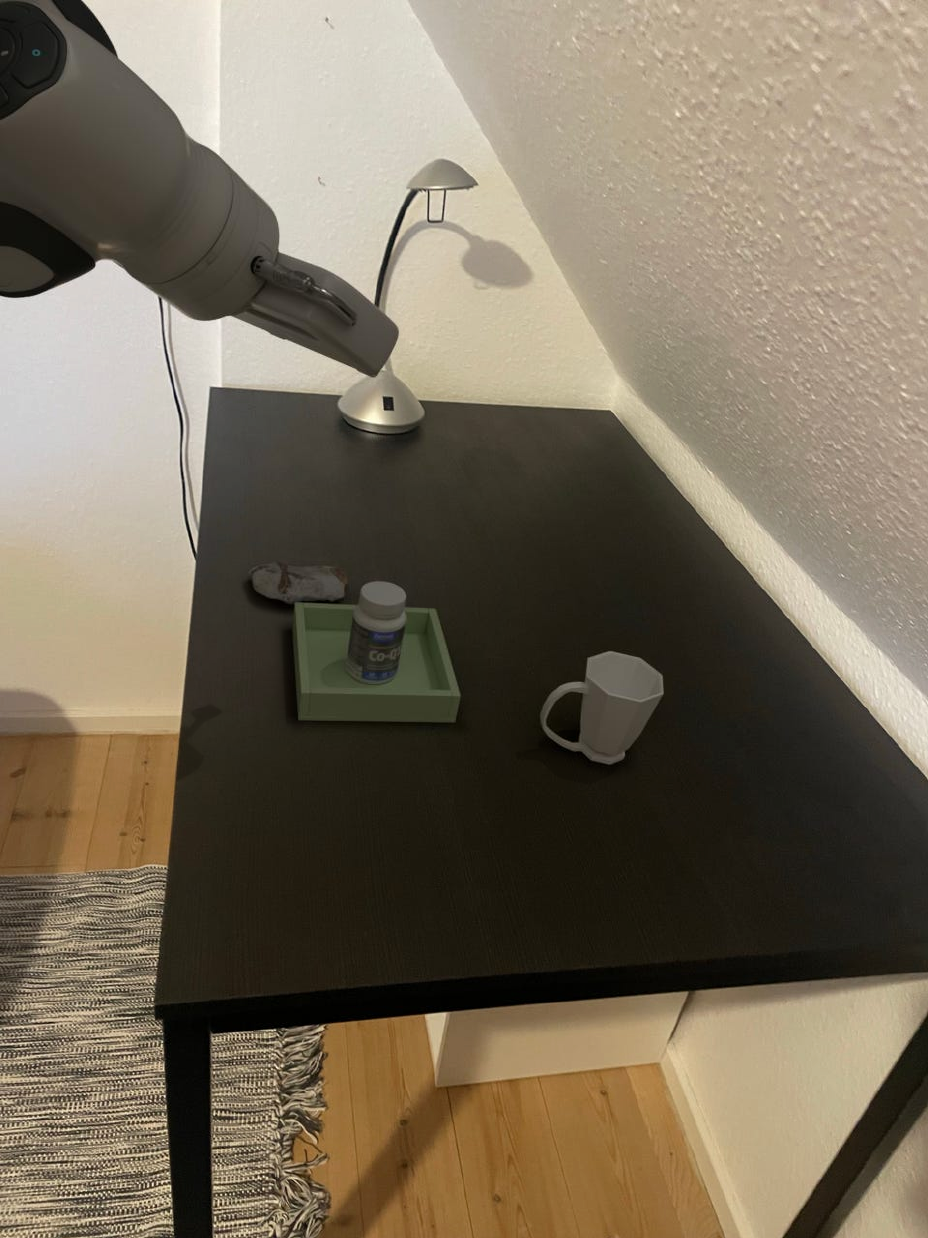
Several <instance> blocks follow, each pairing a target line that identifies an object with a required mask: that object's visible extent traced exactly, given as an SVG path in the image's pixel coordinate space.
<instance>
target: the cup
mask: <svg viewBox="0 0 928 1238" xmlns="http://www.w3.org/2000/svg"><path fill="white" fill-rule="evenodd" d="M569 693H579V694H582V699H581V705H580V707H581V708H580V723H579V725H580V729H579V730H580V731H579V732H580V733H579V734H578V735H579V736H578V742H572V741H569V740H567V739H564V738H562V737H561V736H560V735H558V734H557V733H555V732H554V731H553V730H551V729H550V728H549V727H548V725H547V718H548V716H549V713H550V712H551V710H552V708H553V706H554V705H555V703H556V701H558V700H559V699H560V698H562V697H564V695H565V694H569ZM663 696H664V676H663V674H662V673H660V671H658V670H656V669H655V668H654V667H653V666H651V665H650V664H649V663H647V662H646V661H645V660H643V658H641V657H638V656H634V655H629V654H625V653H622V652H616V651H612V650H608V651H605V652H601V653H599V654H596V655H592V656H590V657H587V660H586V667H585V677H584V681H572V682H567V683H563V684H561V685H559V686H558V687H557V688H555V689H554V690H553V691H551V693H550V694H549V695H548V697H547V699H546V700H545V702H544V703H543V706H542V708H541V711H540V713H539V719H540V725H541V727H542V729H543V731H544V733H545V734H546V736H547V737H548V738H550V739H551V740H552V741H554V742H555V743H556V744H558V745H559V746H561V747H563V748H565V749H567V750H570V751H572V752H582V754H583V755H585V756H586V757H587V758H588V760H590V761H592V762H596V763H601V764H606V765H609V766H610V765H613V764H615V763H618V762H620V761H622V760H624V759H625V757H626V751H627V750H629V749H630V748H631V746H632V745H633V744H634V742H636V740H637V739H638V738H639V736H641V734H642V732H643V730H644V728H645V727H646V725H647V723H648V722H649V720H650V718H651V716H652V714H653V713H654V712H655V709H656V708H657V706H658V705H659V702H661V700H662V697H663Z"/></svg>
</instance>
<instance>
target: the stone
mask: <svg viewBox="0 0 928 1238" xmlns="http://www.w3.org/2000/svg"><path fill="white" fill-rule="evenodd" d="M248 575H249V577H250V579H251V581H252V587H253V590H255V592H256V593H259V594H260V595H262V596H264V597H266V598H268V599H271V600H272V599H273V600H279V601H282V602H284V604H288V605H294V604H295V602H299V603H302V602H316V601H322V602H323V601H327V600H328V602H329V603H334V602H336V601H340V600H343V599H344V598H345V596H346V595H347V593H348V590H349V581H348V576H347V575H346V573H344V572H343V571H342V569H341V568H340V567H339V566H336V565H334V566H329V565H322V564H319V565H313V566H295V565H294V566H293V565H288V564H286V563H285V562H283V561H277V562H271V563H265V564H259V565H257V566H254V567H253V568H251V569H250V570H248Z"/></svg>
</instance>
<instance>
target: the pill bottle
mask: <svg viewBox="0 0 928 1238" xmlns="http://www.w3.org/2000/svg"><path fill="white" fill-rule="evenodd" d="M359 593H360V594H359V597H358V598H359V599H358V603H357V604H356V605H357V606H356V607H355V609H354V612H353V618H352V624H351V632H350V639H349V646H348V653H347V660H346V668H347V671H348V673H349V674H350V675H351V676H352V677H353V678H355V679H356V680H358V681H360V682H363V683H367V684H382V683H386V682H388V681H390V680H392V679H393V678H394V677H395V676H396V674H397V671H398V665H399V659H400V654H401V649H402V642H403V637H404V631H405V626H406V613H405V611H404V608H405V607H406V601H407V593H406V591H405V590H404V589H403V588H402V587H401V586H399V585H397V584H394V583H392V582H388V581H382V580H381V581H380V580H376V581H370V582H367V583H365V584H364V585H362V586H361V589H360V592H359Z"/></svg>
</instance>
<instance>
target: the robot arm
mask: <svg viewBox="0 0 928 1238" xmlns="http://www.w3.org/2000/svg"><path fill="white" fill-rule="evenodd" d="M280 235H281V234H280V225H279V222H278V218H277V216H276V213H275V211H274V210H273V208H272V207H271V206H270V204H269V203H267V201H266V200H265V199H264V198H263V197H261V195H260V194H259V193H258V192H257V191H256V190H255V189H253V188H252V186H251V185H249V184H248V183H247V181H246V180H245V179H243V177H241V176H240V174H239V173H238V172H236V171H235V170H234V169H233V167H232V166H231V165H229V164H228V163H227V162H226V161H225V160H224V159H223V158H222V157H221V156H220V155H219V154H218V153H217V152H216V151H214V150H212V149H211V148H210V147H208V146H206V145H204V144H202V143H200V142H198V141H196V140H195V139H194V138H192V137H191V136H190V135H189V134H188V133H187V131H186V130H185V128H184V126H183V124H182V122H181V120H180V118H179V117H178V116H177V114H176V113H175V111H174V110H173V108H172V107H170V105H169V104H168V103H166V101H164V99H163V98H162V97H161V96H160V95H159V94H158V93H157V92H156V91H155V90H154V89H153V88H151V86H150V85H148V83H146V81H144V80H143V79H142V78H141V77H140V76H139V75H138V74H137V73H136V72H135V71H133V70H132V69H131V68H130V67H129V66H128V65H127V64H126V63H124V61H122V60H121V59H120V58H119V55H118V52H117V50H116V47H115V45H114V43H113V40H111V37H110V36H109V34H108V33H107V30H106V29H105V27H104V26H103V24H102V23H101V22H100V20H99V18H97V16H96V15H95V13H94V12H93V10H92V9H90V7H89V6H88V5H87V4H86V3H85V2H84V1H83V0H0V297H3V298H8V299H21V298H23V299H24V298H31V297H35V296H38V295H41V294H43V293H45V292H48V291H51V290H53V289H55V288H58V287H60V286H62V285H64V284H67V283H69V282H71V281H73V280H76V279H78V278H80V277H82V276H85V275H86V274H88V273H90V272H91V271H93V270H94V269H95V268H96V266H97V263H98V262H99V261H112V262H113V263H114V264H116V265H117V266H118V267H120V268H122V269H123V271H125V272H126V273H127V274H128V275H129V276H130V277H131V278H132V279H134V280H136V281H137V282H138V283H140V285H142V286H143V287H145V288H146V289H148V290H149V291H150V292H151V293H153V294H155V295H156V296H157V297H159V298H160V299H162V300H163V301H165V302H166V303H167V304H168V305H170V306H171V307H173V308H174V309H176V310H177V311H178V312H180V313H181V314H182V315H184V316H185V317H187V318H189V319H192V320H194V321H199V322H210V321H216V320H221V319H223V318H226V317H231V318H232V317H233V318H235V319H237V320H239V321H242V322H244V323H246V324H248V325H251V326H253V327H256V328H257V329H260V330H263V331H265V332H267V333H268V334H270V335H271V336H274V337H276V338H278V339H281V340H284V341H285V340H286V341H288V342H291V343H293V344H296V345H298V346H300V347H303V348H305V349H308V350H310V351H312V352H314V353H317V354H319V355H322V356H324V357H327V358H329V359H332V360H333V361H335V362H338V363H340V364H343V365H345V366H347V367H350V368H352V369H355V370H356V371H357V372H359V373H361V374H363V375H366V376H368V377H370V378H376V377H378V375H379V374H380V372H381V371H382V369H383V368H384V366H385V365H386V363H387V361H388V360H389V359H390V357H391V355H392V352H393V351H394V349H395V347H396V344H397V342H398V340H399V335H400V330H399V327H398V325H397V324H396V323H395V322H394V321H393V320H392V319H391V317H389V316H388V315H387V314H386V313H385V312H383V311H382V310H381V309H380V308H379V307H378V306H377V305H376V304H374V302H372V301H371V300H370V299H369V298H368V297H366V296H365V295H364V294H363V293H362V292H361V291H359V290H358V289H357V288H355V287H354V286H353V285H352V284H350V283H349V282H347V280H346V279H344V278H342V277H341V276H339V275H338V274H336V273H334V272H332V271H330V270H328V269H326V268H323V267H321V266H318V265H316V264H313V263H311V262H308V261H305V260H303V259H299V258H297V257H294V256H291V255H289V254H285V253H283V252H280V250H279V247H280Z"/></svg>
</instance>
